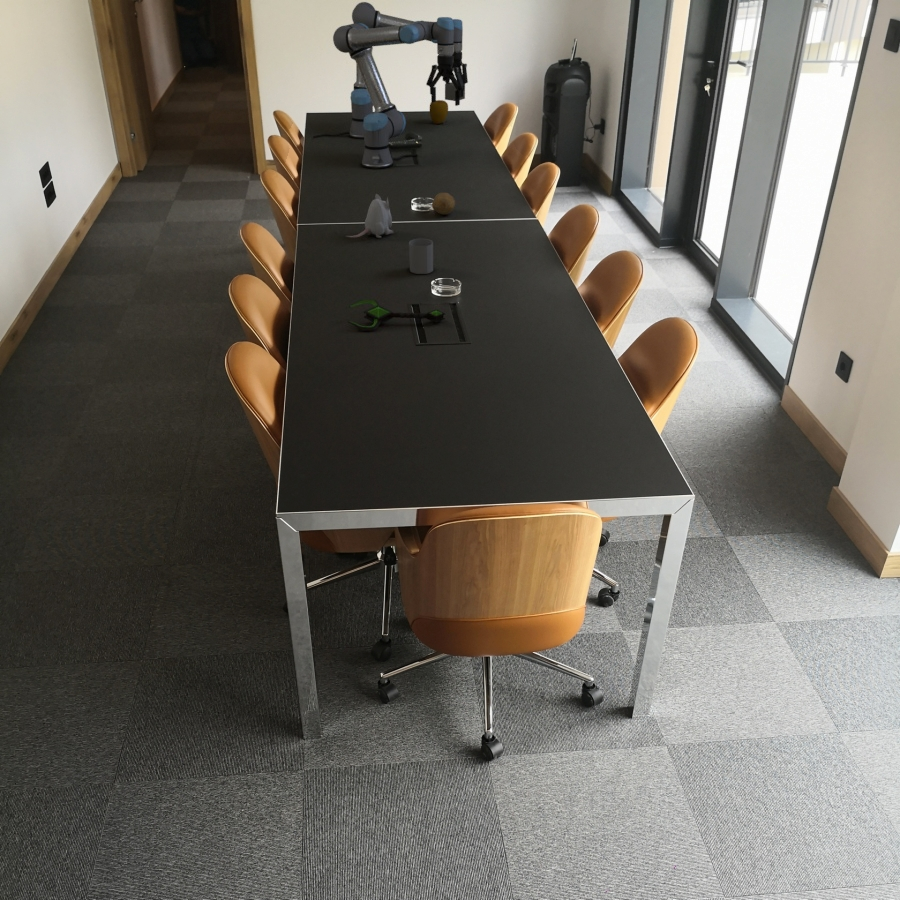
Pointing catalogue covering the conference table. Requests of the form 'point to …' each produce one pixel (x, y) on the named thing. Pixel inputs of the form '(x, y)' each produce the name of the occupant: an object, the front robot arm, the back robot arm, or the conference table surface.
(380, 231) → the toy
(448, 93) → the gray cube
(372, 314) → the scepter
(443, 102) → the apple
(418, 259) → the cup
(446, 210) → the potato
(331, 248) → the conference table surface
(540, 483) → the conference table surface
